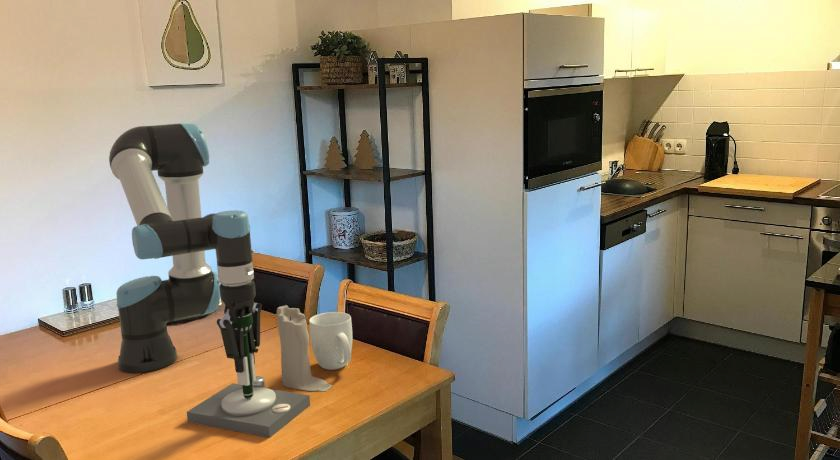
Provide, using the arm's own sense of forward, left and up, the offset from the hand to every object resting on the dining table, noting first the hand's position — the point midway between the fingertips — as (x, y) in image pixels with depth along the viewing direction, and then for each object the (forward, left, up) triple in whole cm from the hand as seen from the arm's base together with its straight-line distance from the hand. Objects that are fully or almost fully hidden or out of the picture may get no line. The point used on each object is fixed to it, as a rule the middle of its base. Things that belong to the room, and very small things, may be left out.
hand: (246, 382), depth 154 cm
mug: (+5, +30, -8) cm, 31 cm away
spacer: (-7, +12, -8) cm, 16 cm away
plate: (-72, +56, -8) cm, 92 cm away
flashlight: (0, 0, -4) cm, 4 cm away
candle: (+4, +18, -8) cm, 20 cm away
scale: (0, 0, -8) cm, 8 cm away
